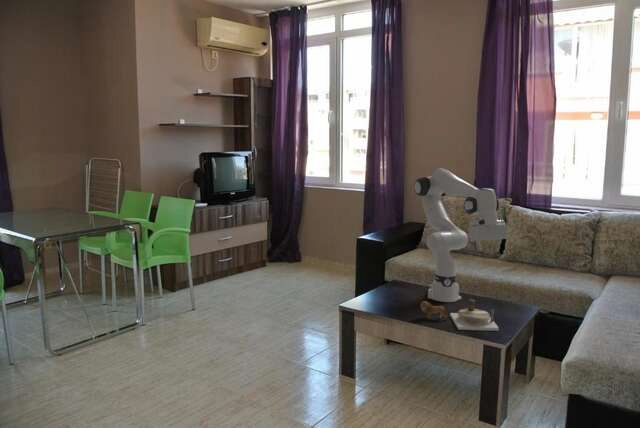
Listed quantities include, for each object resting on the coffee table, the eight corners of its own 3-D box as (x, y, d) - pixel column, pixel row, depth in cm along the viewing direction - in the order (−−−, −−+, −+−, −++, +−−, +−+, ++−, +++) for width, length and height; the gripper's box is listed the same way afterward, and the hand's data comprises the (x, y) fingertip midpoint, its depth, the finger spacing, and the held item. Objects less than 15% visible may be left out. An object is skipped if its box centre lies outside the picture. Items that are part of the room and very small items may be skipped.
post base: (450, 315, 264) (450, 301, 263) (487, 316, 263) (488, 302, 262) (458, 329, 246) (459, 314, 244) (498, 330, 245) (499, 315, 244)
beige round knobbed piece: (454, 309, 264) (455, 297, 263) (483, 310, 263) (484, 298, 262) (461, 321, 247) (462, 308, 246) (493, 322, 246) (494, 309, 245)
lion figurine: (421, 320, 257) (421, 303, 256) (419, 316, 263) (419, 299, 261) (450, 320, 257) (451, 303, 256) (447, 316, 263) (448, 300, 261)
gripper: (501, 220, 257) (503, 247, 257) (466, 221, 251) (467, 250, 250) (510, 219, 251) (511, 248, 251) (474, 221, 245) (475, 250, 244)
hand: (489, 249), depth 250 cm, fingers open, 8 cm apart
